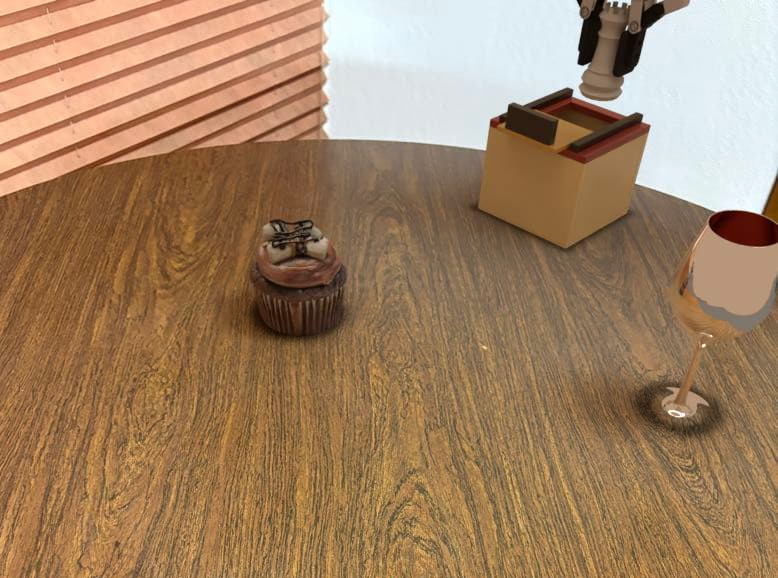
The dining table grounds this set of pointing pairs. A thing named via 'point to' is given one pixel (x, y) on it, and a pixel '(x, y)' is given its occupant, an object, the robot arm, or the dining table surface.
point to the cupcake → (298, 279)
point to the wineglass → (722, 288)
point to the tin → (564, 172)
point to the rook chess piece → (606, 56)
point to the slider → (540, 128)
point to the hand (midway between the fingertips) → (605, 66)
